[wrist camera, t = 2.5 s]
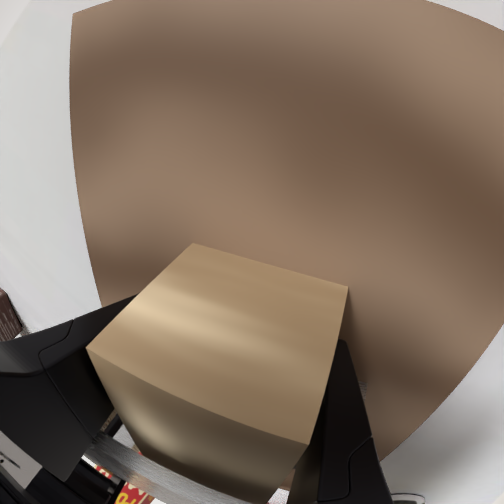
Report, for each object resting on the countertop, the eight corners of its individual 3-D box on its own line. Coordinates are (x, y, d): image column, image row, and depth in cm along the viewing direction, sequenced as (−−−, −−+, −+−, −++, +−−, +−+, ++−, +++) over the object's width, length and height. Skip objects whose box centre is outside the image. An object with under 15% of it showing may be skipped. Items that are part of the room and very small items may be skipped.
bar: (279, 453, 16) (249, 523, 12) (202, 424, 17) (165, 488, 13) (348, 286, 9) (308, 444, 5) (192, 242, 10) (85, 347, 6)
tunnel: (340, 439, 13) (304, 550, 8) (158, 374, 15) (95, 461, 10) (379, 386, 10) (346, 544, 5) (145, 308, 13) (50, 412, 8)
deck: (333, 480, 20) (327, 500, 19) (161, 419, 24) (150, 435, 23) (554, 80, 5) (587, 84, 3) (110, 15, 9) (72, 13, 7)
